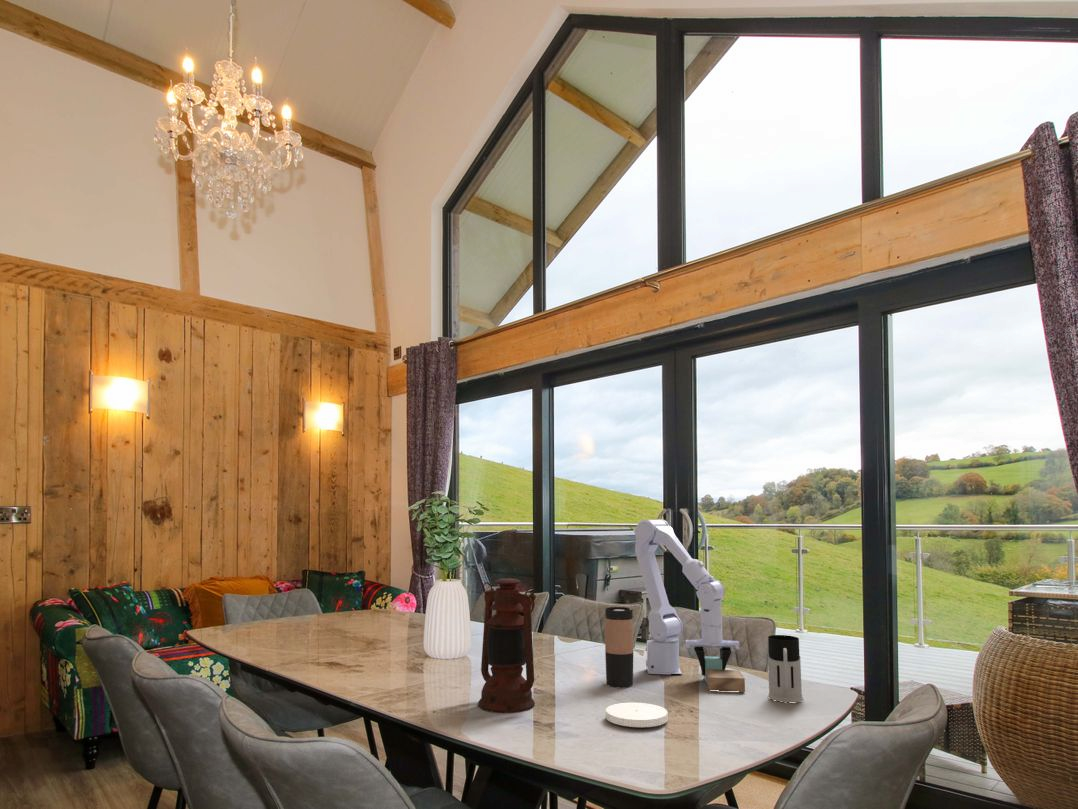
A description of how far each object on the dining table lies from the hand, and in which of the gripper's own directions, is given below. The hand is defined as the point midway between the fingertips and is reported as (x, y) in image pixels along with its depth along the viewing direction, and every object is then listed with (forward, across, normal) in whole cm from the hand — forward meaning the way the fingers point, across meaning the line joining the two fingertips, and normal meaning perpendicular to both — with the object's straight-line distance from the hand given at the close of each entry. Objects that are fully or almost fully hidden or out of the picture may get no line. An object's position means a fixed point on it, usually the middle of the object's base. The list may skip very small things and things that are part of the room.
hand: (712, 675), depth 206 cm
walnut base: (+2, +2, -8) cm, 8 cm away
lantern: (+2, -54, -30) cm, 62 cm away
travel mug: (+2, -26, -7) cm, 27 cm away
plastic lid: (+2, -23, -40) cm, 46 cm away
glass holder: (+2, +15, -20) cm, 25 cm away
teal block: (+2, 0, 0) cm, 2 cm away
